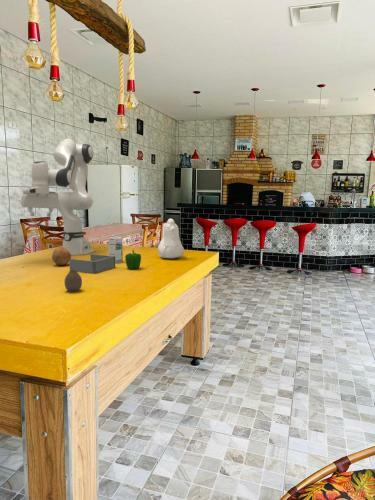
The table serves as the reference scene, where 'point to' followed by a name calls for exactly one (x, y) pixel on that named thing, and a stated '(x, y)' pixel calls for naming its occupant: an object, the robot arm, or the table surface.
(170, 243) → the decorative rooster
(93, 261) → the box
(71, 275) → the vase
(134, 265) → the bell pepper
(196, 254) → the table surface
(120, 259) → the syrup box
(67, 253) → the onion
